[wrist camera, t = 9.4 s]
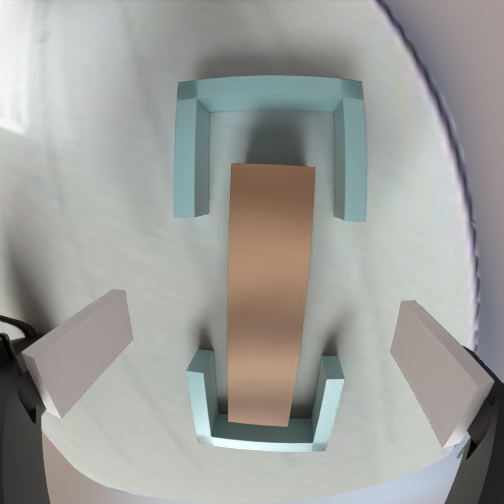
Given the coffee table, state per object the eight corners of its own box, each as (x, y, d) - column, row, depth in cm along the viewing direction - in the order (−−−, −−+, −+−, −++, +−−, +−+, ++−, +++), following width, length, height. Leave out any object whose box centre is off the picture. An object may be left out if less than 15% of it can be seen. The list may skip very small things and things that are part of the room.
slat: (243, 171, 17) (231, 163, 13) (306, 174, 17) (315, 166, 13) (237, 383, 21) (228, 421, 16) (288, 387, 20) (287, 426, 16)
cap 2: (322, 426, 20) (325, 450, 18) (206, 420, 22) (198, 443, 19) (337, 355, 19) (344, 378, 16) (198, 349, 20) (186, 370, 17)
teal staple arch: (193, 98, 16) (178, 82, 13) (350, 97, 15) (361, 81, 12) (191, 213, 18) (174, 217, 15) (352, 217, 17) (365, 221, 14)
